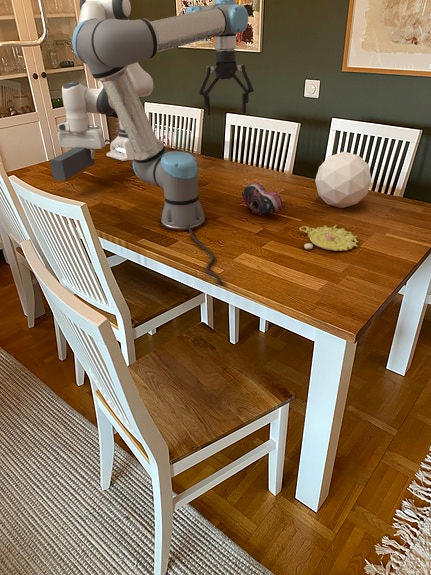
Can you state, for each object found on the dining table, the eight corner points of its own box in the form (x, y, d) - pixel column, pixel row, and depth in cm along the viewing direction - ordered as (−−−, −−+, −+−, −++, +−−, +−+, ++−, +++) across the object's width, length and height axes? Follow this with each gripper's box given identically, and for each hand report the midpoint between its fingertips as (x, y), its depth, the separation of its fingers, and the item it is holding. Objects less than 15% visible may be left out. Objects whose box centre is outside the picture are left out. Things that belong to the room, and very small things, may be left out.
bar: (65, 180, 174) (61, 160, 170) (53, 179, 175) (49, 159, 171) (94, 163, 193) (91, 145, 189) (84, 162, 195) (80, 144, 190)
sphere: (346, 226, 165) (361, 198, 146) (301, 199, 169) (309, 168, 151) (372, 190, 170) (389, 158, 151) (327, 165, 174) (338, 131, 156)
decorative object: (343, 255, 128) (285, 234, 139) (342, 262, 130) (284, 241, 140) (372, 230, 142) (317, 213, 152) (371, 237, 143) (316, 219, 153)
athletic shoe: (254, 181, 170) (227, 189, 167) (283, 176, 151) (253, 185, 147) (260, 210, 173) (234, 218, 170) (290, 209, 154) (261, 219, 150)
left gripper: (105, 124, 183) (110, 157, 190) (61, 122, 188) (68, 155, 195) (97, 127, 178) (103, 161, 185) (53, 126, 183) (60, 159, 190)
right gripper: (257, 47, 160) (256, 109, 172) (189, 50, 157) (192, 113, 169) (262, 49, 154) (260, 113, 166) (191, 52, 151) (194, 117, 163)
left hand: (85, 158), depth 190 cm, fingers closed on bar, 5 cm apart
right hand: (226, 113), depth 167 cm, fingers open, 13 cm apart
